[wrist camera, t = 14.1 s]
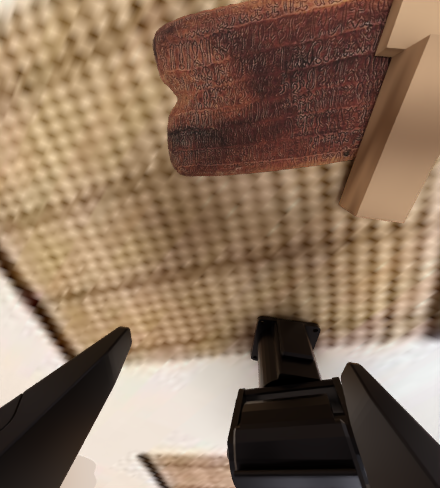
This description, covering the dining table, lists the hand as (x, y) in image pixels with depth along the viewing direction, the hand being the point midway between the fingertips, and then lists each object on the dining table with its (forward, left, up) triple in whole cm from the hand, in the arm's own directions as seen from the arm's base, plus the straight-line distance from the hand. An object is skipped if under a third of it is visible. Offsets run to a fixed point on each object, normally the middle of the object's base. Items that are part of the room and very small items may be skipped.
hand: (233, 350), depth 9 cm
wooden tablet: (+12, -6, -13) cm, 19 cm away
